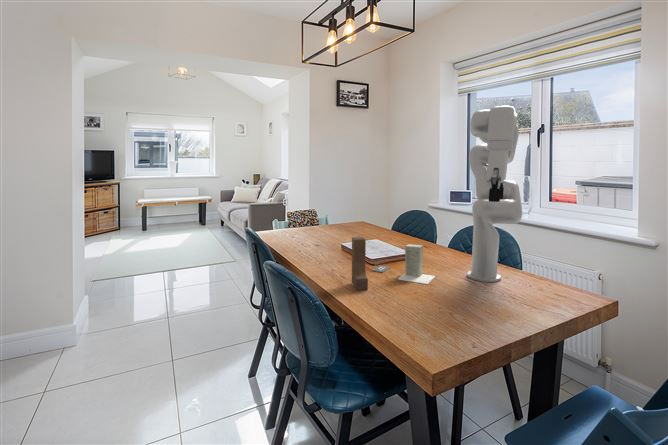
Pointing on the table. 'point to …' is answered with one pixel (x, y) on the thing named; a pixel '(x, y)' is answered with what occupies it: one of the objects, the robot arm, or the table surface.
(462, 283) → the table surface
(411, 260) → the skincare box
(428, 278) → the note sheet
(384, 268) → the slate card
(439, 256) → the table surface
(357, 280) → the wooden block
